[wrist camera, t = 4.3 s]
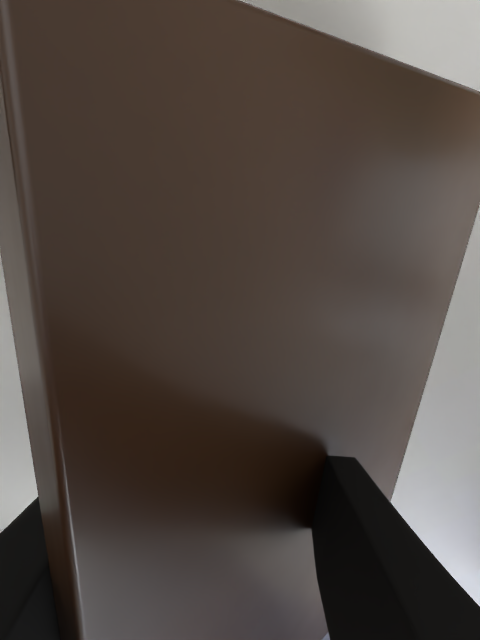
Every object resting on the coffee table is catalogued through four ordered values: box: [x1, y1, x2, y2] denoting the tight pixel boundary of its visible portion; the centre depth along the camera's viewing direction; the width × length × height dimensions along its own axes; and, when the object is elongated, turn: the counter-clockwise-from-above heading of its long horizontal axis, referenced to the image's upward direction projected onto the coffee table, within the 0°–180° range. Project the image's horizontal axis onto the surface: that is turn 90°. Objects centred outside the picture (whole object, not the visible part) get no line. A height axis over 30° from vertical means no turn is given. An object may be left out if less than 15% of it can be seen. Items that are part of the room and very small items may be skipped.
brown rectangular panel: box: [0, 0, 480, 640], centre depth 9 cm, size 10×16×1 cm
